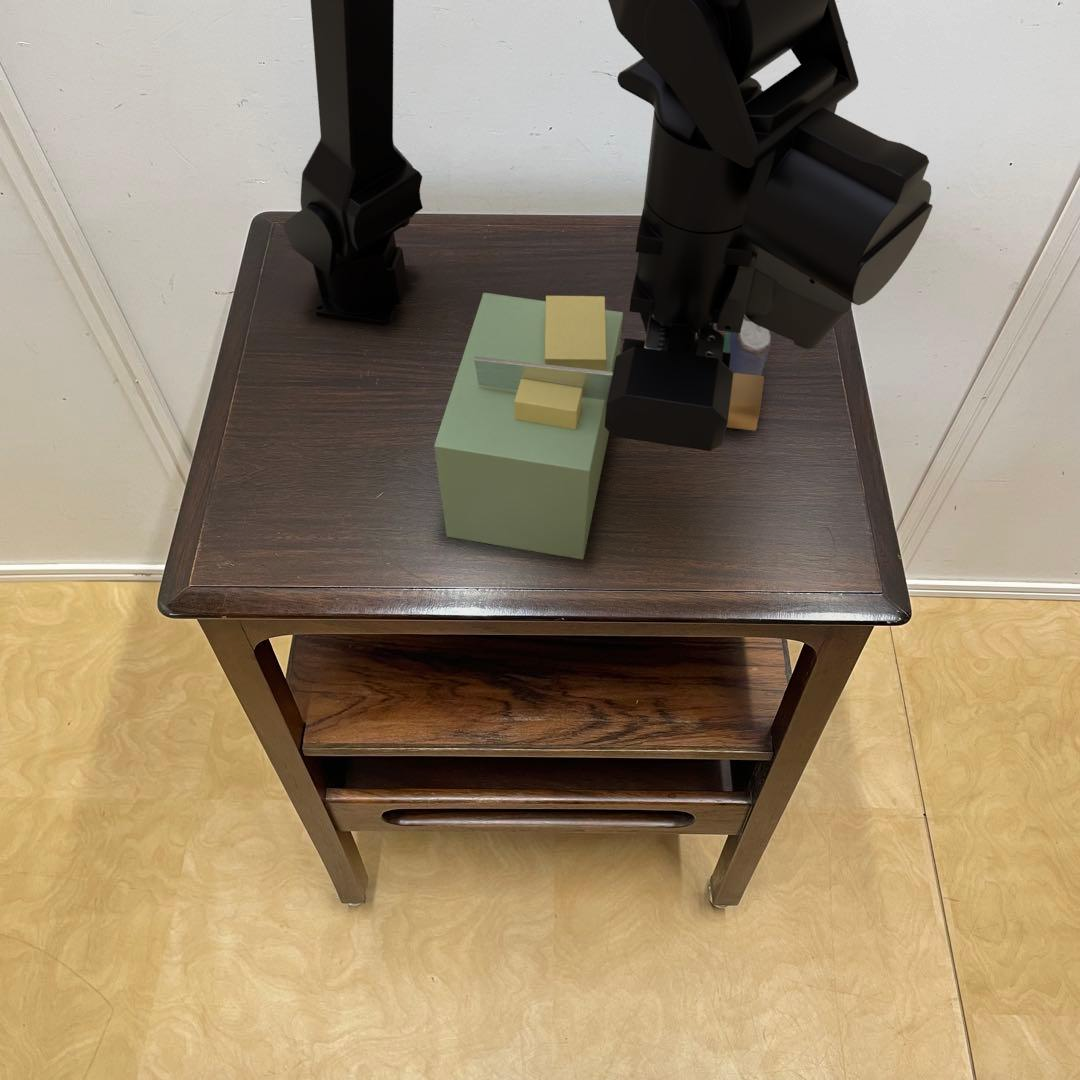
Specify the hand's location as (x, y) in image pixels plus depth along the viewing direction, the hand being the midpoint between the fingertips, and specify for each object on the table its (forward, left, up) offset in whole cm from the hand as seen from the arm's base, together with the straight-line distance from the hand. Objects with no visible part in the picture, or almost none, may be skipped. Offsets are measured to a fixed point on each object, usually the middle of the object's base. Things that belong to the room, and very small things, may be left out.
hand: (668, 401), depth 63 cm
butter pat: (-8, -1, -2) cm, 8 cm away
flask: (+5, +13, -12) cm, 19 cm away
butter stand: (-9, +2, -12) cm, 15 cm away
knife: (-3, 0, -1) cm, 3 cm away
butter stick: (-7, +5, -2) cm, 9 cm away
